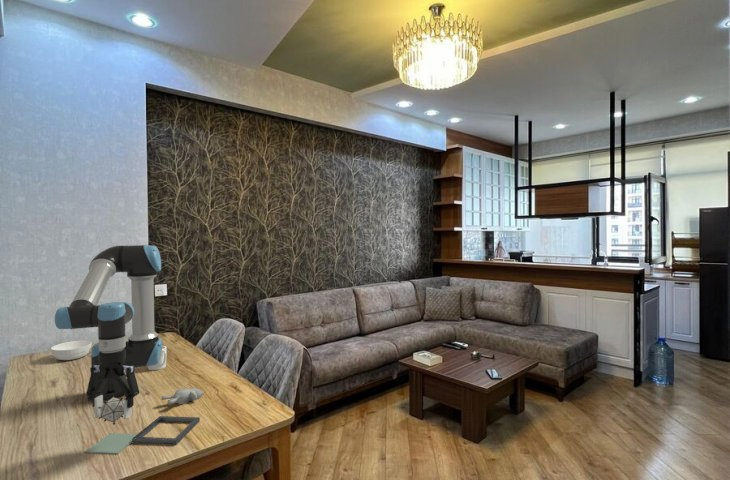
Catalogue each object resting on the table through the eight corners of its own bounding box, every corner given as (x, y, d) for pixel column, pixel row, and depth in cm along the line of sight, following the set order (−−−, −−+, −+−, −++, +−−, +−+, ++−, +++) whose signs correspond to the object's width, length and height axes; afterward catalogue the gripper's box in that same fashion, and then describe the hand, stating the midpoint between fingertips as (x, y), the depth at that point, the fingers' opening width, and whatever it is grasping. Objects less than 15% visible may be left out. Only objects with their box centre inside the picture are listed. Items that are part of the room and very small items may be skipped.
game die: (111, 430, 127) (110, 400, 132) (135, 420, 127) (133, 391, 132) (90, 429, 119) (90, 398, 124) (117, 419, 120) (116, 387, 124)
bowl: (98, 356, 214) (98, 343, 214) (58, 366, 198) (58, 352, 198) (84, 350, 224) (83, 338, 224) (45, 359, 208) (45, 346, 208)
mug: (143, 369, 193) (142, 349, 193) (158, 363, 201) (158, 344, 201) (158, 372, 189) (158, 352, 189) (173, 366, 197) (173, 347, 197)
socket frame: (132, 443, 127) (132, 438, 126) (160, 419, 142) (160, 416, 142) (176, 444, 125) (176, 440, 125) (199, 421, 141) (199, 417, 141)
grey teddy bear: (207, 389, 160) (170, 397, 148) (205, 401, 160) (169, 410, 148) (195, 383, 166) (160, 390, 154) (194, 395, 166) (159, 403, 154)
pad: (85, 452, 121) (85, 451, 121) (110, 434, 132) (110, 433, 132) (117, 454, 120) (117, 452, 120) (140, 435, 131) (140, 434, 131)
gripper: (71, 352, 122) (72, 421, 123) (136, 354, 121) (137, 423, 121) (89, 345, 130) (90, 410, 130) (151, 346, 128) (152, 412, 129)
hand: (113, 416), depth 126 cm, fingers closed on game die, 9 cm apart
